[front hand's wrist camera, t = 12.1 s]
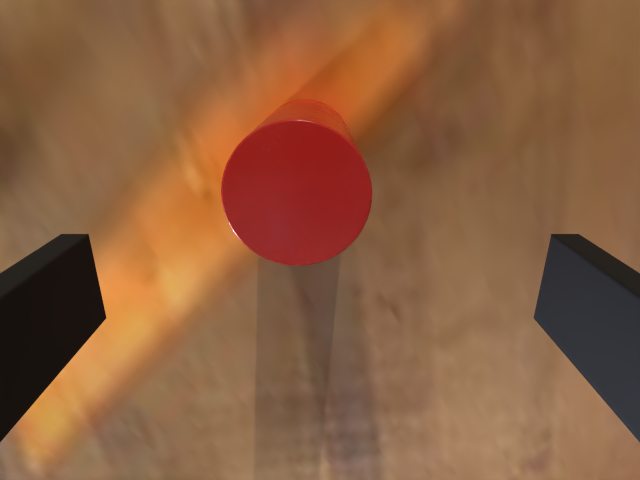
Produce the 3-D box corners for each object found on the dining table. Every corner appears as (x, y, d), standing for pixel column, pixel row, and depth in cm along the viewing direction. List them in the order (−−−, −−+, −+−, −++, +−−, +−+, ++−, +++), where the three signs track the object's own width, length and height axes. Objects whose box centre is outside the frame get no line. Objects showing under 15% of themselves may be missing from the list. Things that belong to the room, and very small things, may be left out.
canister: (333, 202, 30) (341, 283, 19) (250, 174, 30) (205, 241, 18) (364, 118, 28) (395, 150, 17) (275, 86, 28) (243, 96, 16)
